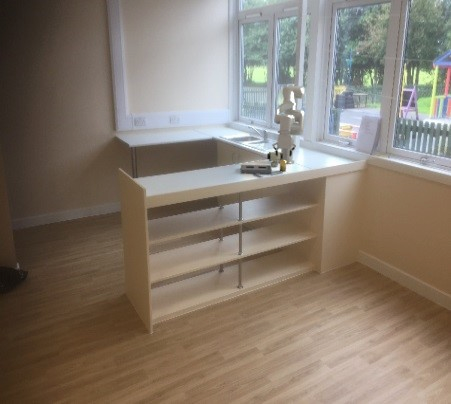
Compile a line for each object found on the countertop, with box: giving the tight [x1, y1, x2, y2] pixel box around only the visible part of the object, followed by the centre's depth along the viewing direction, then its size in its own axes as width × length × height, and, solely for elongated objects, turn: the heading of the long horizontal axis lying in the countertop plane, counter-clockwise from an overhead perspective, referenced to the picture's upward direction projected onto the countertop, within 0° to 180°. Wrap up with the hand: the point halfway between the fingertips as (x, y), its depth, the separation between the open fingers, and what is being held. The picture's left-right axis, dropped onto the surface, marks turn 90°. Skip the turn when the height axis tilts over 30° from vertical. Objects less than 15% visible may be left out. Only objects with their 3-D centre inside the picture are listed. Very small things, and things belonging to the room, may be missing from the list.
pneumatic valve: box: [266, 150, 283, 168], centre depth 326 cm, size 6×12×12 cm, turn 92°
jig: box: [240, 164, 273, 175], centre depth 310 cm, size 16×22×3 cm
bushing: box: [279, 160, 287, 173], centre depth 312 cm, size 4×4×8 cm
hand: (283, 156), depth 309 cm, fingers open, 9 cm apart
